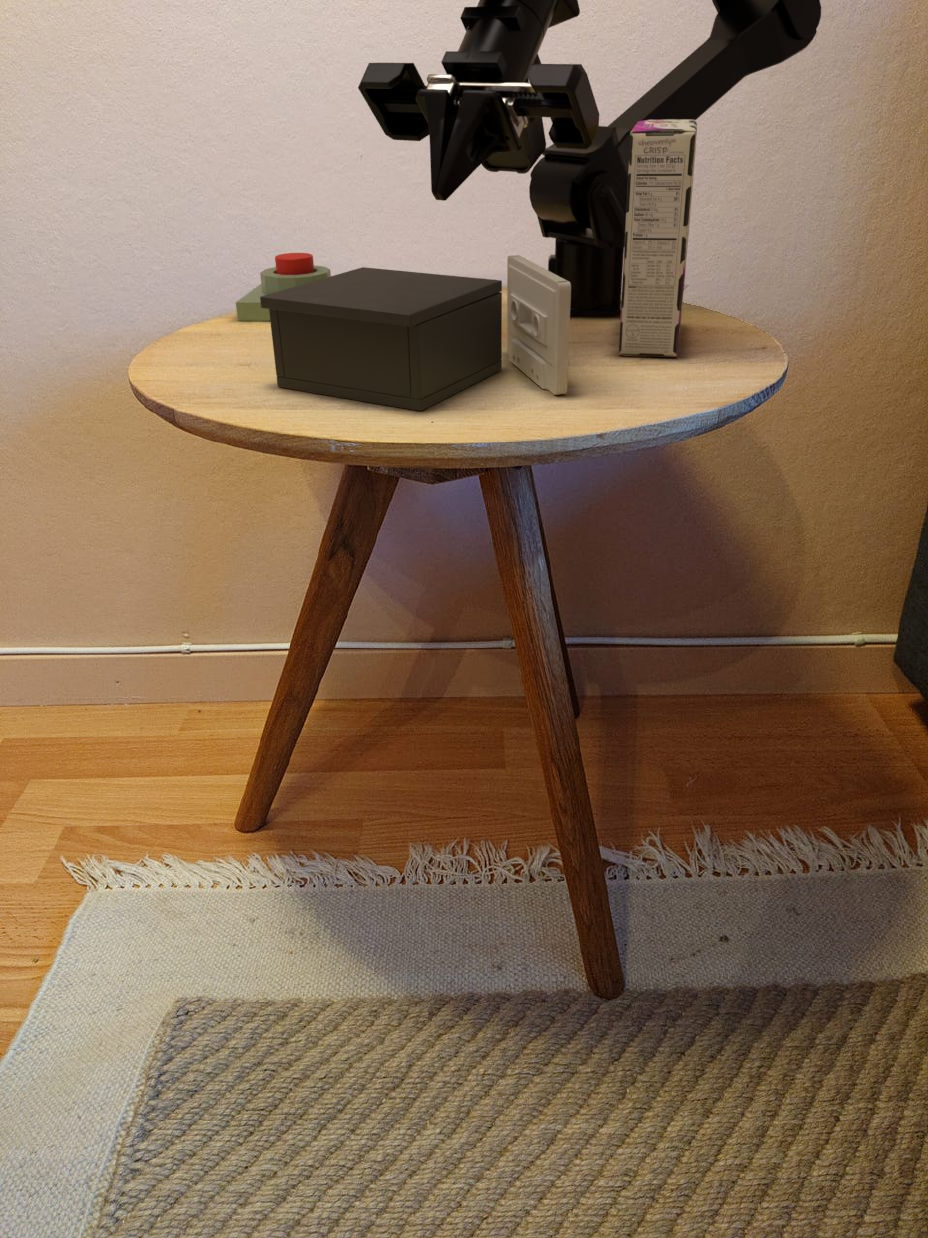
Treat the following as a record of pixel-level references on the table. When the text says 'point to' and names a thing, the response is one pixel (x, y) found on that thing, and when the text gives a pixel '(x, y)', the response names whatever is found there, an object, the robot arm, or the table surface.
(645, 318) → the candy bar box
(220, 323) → the table surface
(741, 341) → the table surface
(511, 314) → the cassette
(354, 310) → the lid
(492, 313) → the black lidded box
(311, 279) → the switch block
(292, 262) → the button
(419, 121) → the robot arm
